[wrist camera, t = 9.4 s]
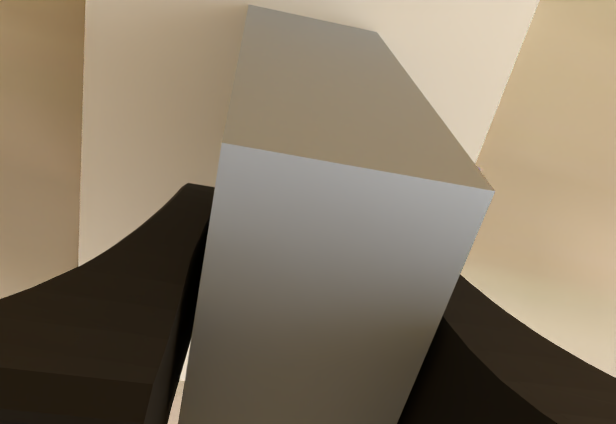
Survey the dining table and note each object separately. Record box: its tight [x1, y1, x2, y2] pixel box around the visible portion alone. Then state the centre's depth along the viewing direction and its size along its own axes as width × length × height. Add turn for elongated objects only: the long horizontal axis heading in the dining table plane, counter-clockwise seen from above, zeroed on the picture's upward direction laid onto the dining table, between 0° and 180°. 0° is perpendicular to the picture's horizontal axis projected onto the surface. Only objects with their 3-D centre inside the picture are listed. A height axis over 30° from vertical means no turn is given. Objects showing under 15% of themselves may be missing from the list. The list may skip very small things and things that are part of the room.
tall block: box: [178, 5, 495, 424], centre depth 12 cm, size 3×9×8 cm, turn 168°
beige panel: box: [78, 0, 540, 381], centre depth 15 cm, size 16×10×1 cm, turn 168°
